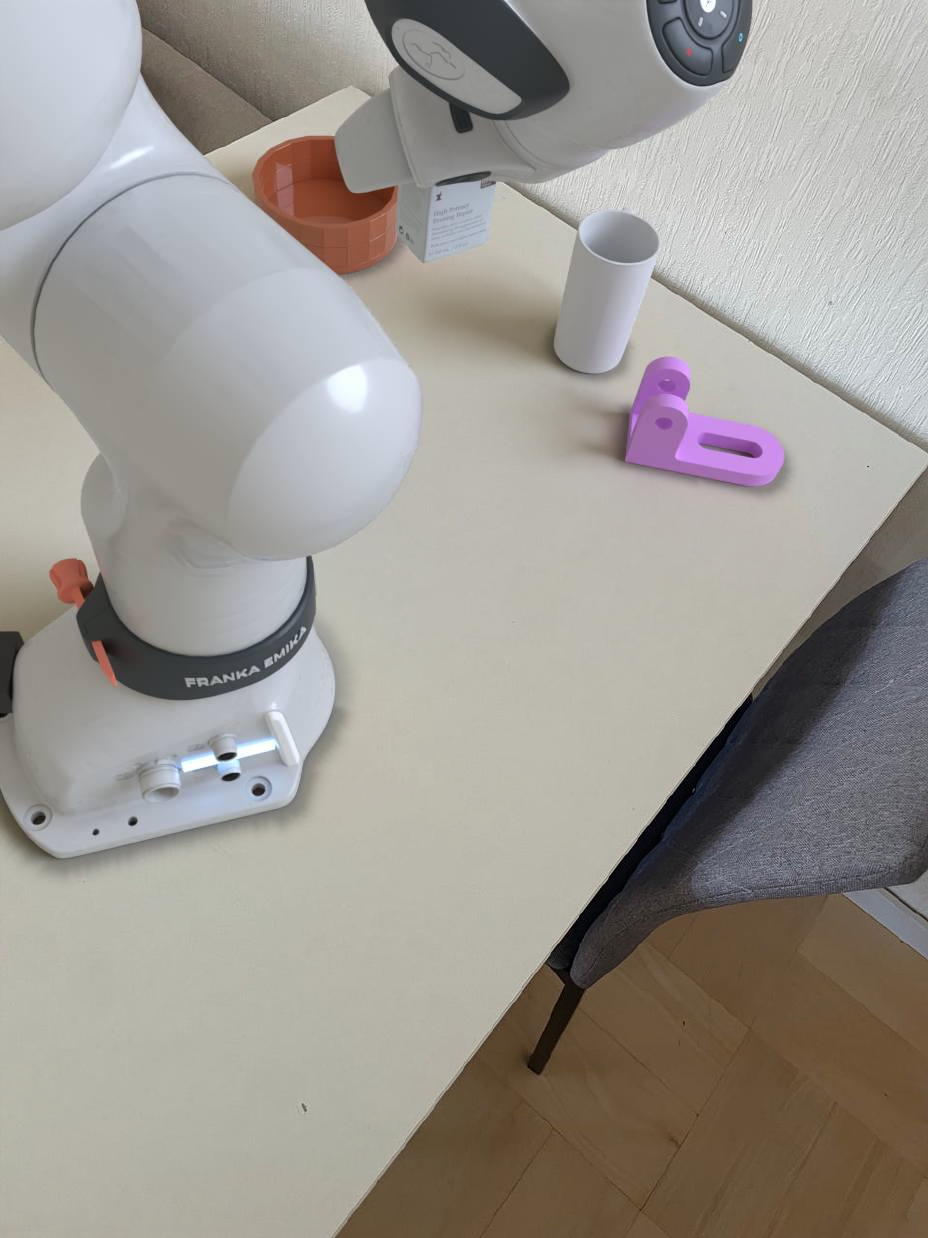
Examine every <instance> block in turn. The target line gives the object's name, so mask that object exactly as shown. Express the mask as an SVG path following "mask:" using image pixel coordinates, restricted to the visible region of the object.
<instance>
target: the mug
mask: <svg viewBox="0 0 928 1238" xmlns="http://www.w3.org/2000/svg"><path fill="white" fill-rule="evenodd" d="M661 248H662V239H661V236H660V234H659V232H658V231H657V229H656V227H654V225H653V224H652V223H650V222H649V221H648V220H647V219H646V218H644V217H642V216H640V215H638V214H636V213H635V210H634V209H633V208H631V207H629V206H626V207H623V208H622V209H617V208H616V209H615V208H610V209H609V208H606V209H600V210H595V211H593V212H590V213H588V214H587V215H586V216H584V217H583V218H582V220H580V222H579V224H578V227H577V232H576V235H575V239H574V244H573V247H572V252H571V257H570V262H569V265H568V266H569V267H568V270H567V275H566V276H567V277H566V280H565V285H564V291H563V295H562V298H561V299H562V300H561V304H560V309H559V314H558V317H557V322H556V326H555V333H554V337H553V338H554V339H553V349H554V352H555V354H556V356H557V358H559V360H560V361H561V362H562V363H563V364H564V365H565V366H566V367H569V368H570V369H572V370H575V371H577V372H581V373H584V374H590V375H591V374H595V375H596V374H597V375H598V374H603V373H606V372H609V371H611V370H613V369H614V368H616V367H617V366H618V364H619V363H620V362H621V360H622V358H623V355H624V353H625V350H626V348H627V345H628V343H629V339H630V337H631V334H632V331H633V329H634V325H635V322H636V319H637V317H638V313H639V311H640V308H641V305H642V303H643V300H644V297H645V294H646V292H647V289H648V286H649V283H650V281H651V278H652V274H653V272H654V269H655V266H656V263H657V260H658V256H659V254H660V251H661Z"/></svg>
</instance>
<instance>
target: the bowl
mask: <svg viewBox="0 0 928 1238" xmlns="http://www.w3.org/2000/svg"><path fill="white" fill-rule="evenodd" d="M334 138H335V135H305V136H300V137H295V138H291V139H286V140H285V141H282V142H281V143H278V144H276V145H274V146H271V147H270V148H269V149H268V150H266V151H265V152H264V153H263V154H262V155H261V156H260V157H259V158H258V159H257V161H256V164H255V167H254V168H253V171H252V173H251V176H252V177H251V178H252V192H253V203H254V204H256V205H257V206H258V207H259V208H260V209H261V210H263V211H264V212H265V213H266V214H267V215H268V216H270V217H271V218H272V219H273V220H274V221H275V222H277V223H278V224H279V225H280V226H281V227H282V228H284V229H285V230H286V231H287V232H288V233H289V234H291V235H292V236H293V237H294V238H295V239H296V240H297V241H299V242H300V243H301V244H302V245H303V246H304V247H306V248H307V249H308V250H309V251H310V252H311V253H313V254H314V255H315V256H316V257H317V258H318V259H320V260H321V261H322V262H323V263H324V264H325V265H327V266H328V267H329V268H330V269H331V270H332V271H334V272H335V273H336V274H337V275H343V274H350V273H355V272H359V271H363V270H365V269H368V268H370V267H372V266H374V265H376V264H377V263H378V264H379V262H381V261H382V260H383V259H385V258H386V257H387V256H388V255H389V254H390V253H391V251H392V250H393V248H394V247H395V245H396V244H397V243H396V242H397V240H398V237H399V236H398V234H397V233H396V231H395V226H396V212H397V196H398V185H397V186H392V187H388V188H383V189H379V190H375V191H370V192H365V193H353V192H351V191H350V190H349V189H348V188H347V186H346V184H345V181H344V178H343V175H342V172H341V169H340V165H339V162H338V158H337V153H336V149H335V141H334Z"/></svg>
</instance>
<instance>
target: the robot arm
mask: <svg viewBox="0 0 928 1238" xmlns="http://www.w3.org/2000/svg"><path fill="white" fill-rule="evenodd" d="M363 1H364V4H365V6H366V9H367V12H368V14H369V16H370V19H371V21H372V23H373V25H374V27H375V29H376V31H377V32H378V35H379V36H380V38H381V39H382V41H383V43H384V44H385V46H386V48H387V49H388V51H389V52H390V54H391V56H392V57H393V59H394V61H395V62H396V63H397V64H398V65H397V66H396V67H394V68H393V69H392V70H391V71H390V72H389V73H388V84H389V87H388V88H386V89H384V90H382V91H380V92H378V93H376V94H375V95H373V96H371V97H370V98H369V99H367V100H366V101H365V102H364V103H363V104H361V105H360V106H359V107H358V108H357V109H356V110H355V111H354V112H353V113H351V115H349V117H347V118H346V120H345V121H344V122H343V123H342V124H341V125H339V127H338V129H337V130H336V131H335V134H334V136H335V138H334V141H335V149H336V153H337V158H338V162H339V165H340V169H341V172H342V175H343V178H344V181H345V184H346V186H347V188H348V189H349V190H350V191H351V192H353V193H365V192H370V191H375V190H379V189H383V188H388V187H392V186H397V185H401V184H407V183H413V182H415V183H416V186H418V187H420V188H427V187H432V186H437V187H439V186H445V185H451V184H457V183H465V182H475V181H496V183H515V182H516V183H520V184H524V185H525V184H527V185H537V184H543V183H547V182H550V181H553V180H555V179H557V178H559V177H562V176H564V175H566V174H568V173H571V172H574V171H576V170H578V169H580V168H584V167H585V166H587V165H590V164H593V163H594V162H596V161H597V160H599V159H601V158H603V157H604V156H605V155H608V153H609V152H610V151H612V150H618V149H619V150H620V149H624V148H628V147H631V146H634V145H636V144H638V143H640V142H643V141H646V140H648V139H650V138H652V137H654V136H656V135H658V134H660V133H663V132H664V131H666V130H668V129H670V128H672V127H674V126H675V125H677V124H679V123H680V122H683V121H684V120H686V119H687V118H689V117H690V116H692V115H694V114H695V113H696V112H698V111H699V110H700V109H702V108H703V107H704V106H706V105H707V104H708V103H709V102H711V100H712V99H714V98H715V97H716V96H717V95H718V94H719V93H720V92H721V91H722V90H723V89H724V88H725V86H726V85H727V84H728V83H729V82H730V80H731V79H732V78H733V76H734V74H735V72H736V71H737V69H738V66H739V65H740V63H741V60H742V58H743V55H744V52H745V49H746V46H747V42H748V38H749V36H750V31H751V27H752V19H753V18H752V17H753V0H363ZM142 31H143V30H142V22H141V15H140V11H139V7H138V2H137V0H0V337H1V338H2V339H3V340H4V341H5V342H6V343H7V344H8V345H9V346H10V347H11V348H12V349H13V350H14V351H15V352H16V353H17V354H18V355H19V357H21V359H22V360H23V361H24V362H25V363H26V364H27V365H28V366H29V367H30V368H31V369H32V370H33V371H34V372H35V373H36V374H37V375H38V376H39V377H40V379H42V380H43V382H45V384H47V385H48V387H50V389H51V390H52V391H53V392H54V393H55V394H56V395H57V396H58V398H60V399H61V400H62V401H63V403H64V404H65V405H66V407H68V409H69V410H70V411H71V412H72V415H73V416H74V417H75V418H76V419H77V421H78V422H79V423H80V425H81V426H82V428H83V429H84V431H85V432H86V433H87V435H88V436H89V438H90V439H91V440H92V442H93V443H94V445H95V446H96V448H97V449H98V450H99V453H98V454H97V456H96V457H95V458H94V460H93V461H92V463H91V464H90V465H89V467H88V469H87V471H86V473H85V475H84V479H83V482H82V486H81V490H80V514H81V518H82V521H83V524H84V527H85V530H86V533H87V536H88V539H89V542H90V545H91V548H92V552H93V554H94V557H95V560H96V563H97V566H98V569H99V571H98V574H97V577H96V580H95V583H92V581H91V580H90V579H89V575H88V569H87V566H86V564H85V562H84V561H83V560H81V559H78V558H77V557H76V558H74V557H70V558H69V557H68V558H64V559H62V560H58V561H57V562H56V563H54V564H53V565H52V566H51V568H50V569H49V571H48V573H49V574H48V576H49V578H50V581H51V583H52V584H53V586H54V587H55V589H56V591H57V592H56V593H57V598H58V600H59V601H60V602H62V603H64V604H67V605H71V604H74V605H73V606H71V607H70V608H69V609H67V610H66V611H65V612H64V613H62V614H61V615H60V616H59V617H57V618H56V619H54V620H53V621H52V622H50V623H49V624H47V626H45V627H44V628H43V629H41V630H40V631H38V632H37V633H36V634H34V635H33V636H32V637H30V638H29V639H27V640H26V642H25V641H24V639H23V637H22V635H21V633H20V631H17V630H16V631H15V630H14V631H12V630H0V714H6V715H5V716H3V717H0V791H1V794H2V796H3V799H4V801H5V803H6V805H7V807H8V809H9V811H10V813H11V815H12V817H13V818H14V820H15V821H16V823H17V824H18V827H20V829H21V830H22V831H23V832H24V834H25V835H26V836H27V837H28V838H29V839H30V840H31V842H33V843H34V844H35V845H36V846H37V847H39V848H40V849H42V850H43V851H44V852H45V853H47V854H49V855H50V856H52V857H54V858H56V859H61V860H63V859H70V858H76V857H80V856H84V855H88V854H93V853H97V852H102V851H107V850H109V849H114V848H119V847H122V846H127V845H131V844H135V843H139V842H143V841H148V840H152V839H156V838H160V837H165V836H169V835H173V834H177V833H181V832H186V831H189V830H193V829H197V828H202V827H203V828H204V827H207V826H211V825H215V824H220V823H224V822H227V821H231V820H236V819H240V818H244V817H248V816H253V815H256V814H260V813H265V812H269V811H273V810H277V809H281V808H283V807H286V806H288V805H290V803H291V802H293V800H294V799H295V798H296V797H295V796H296V795H297V792H298V789H299V786H300V782H301V779H302V778H301V777H302V773H303V767H304V762H305V760H306V758H307V756H308V755H309V753H310V751H311V750H312V748H313V747H314V746H315V744H316V743H317V741H318V740H319V738H320V737H321V735H322V734H323V732H324V731H325V728H326V726H327V724H328V723H329V720H330V717H331V714H332V711H333V708H334V703H335V697H336V676H335V671H334V666H333V662H332V660H331V657H330V654H329V652H328V650H327V648H326V647H325V645H324V643H323V642H322V640H321V638H320V637H319V636H318V634H317V631H316V628H315V624H314V621H315V617H316V613H317V596H318V584H317V575H316V569H315V564H314V560H313V555H317V554H320V553H322V552H325V551H327V550H330V549H333V548H334V547H336V546H339V545H341V544H342V543H345V542H346V541H348V540H350V539H351V538H353V537H354V536H356V535H357V534H359V533H360V532H361V531H362V530H364V529H365V528H367V527H368V526H369V525H370V524H371V523H372V522H373V521H375V520H376V519H377V518H378V517H379V515H380V514H381V513H382V512H383V511H384V510H385V509H386V508H387V507H388V505H389V504H390V503H391V502H392V500H393V499H394V498H395V496H396V495H397V493H398V492H399V490H400V488H401V487H402V485H403V483H404V482H405V480H406V478H407V476H408V474H409V471H410V469H411V466H412V464H413V462H414V459H415V456H416V452H417V449H418V445H419V442H420V436H421V430H422V420H423V392H422V387H421V383H420V381H419V378H418V376H417V374H416V373H415V371H414V370H413V369H412V367H411V366H410V364H409V363H408V361H407V360H406V359H405V357H404V356H403V355H402V353H401V351H400V350H399V349H398V347H397V345H395V343H394V342H393V340H392V339H391V337H390V336H389V335H388V333H387V332H386V330H385V329H384V328H383V327H382V325H381V324H380V323H379V321H378V320H377V319H376V317H375V316H374V315H373V313H372V312H371V311H370V309H369V308H368V307H367V306H366V305H365V303H364V302H363V301H362V300H361V298H360V297H359V295H358V294H357V293H356V292H355V290H354V289H353V287H352V286H351V285H349V283H348V282H346V281H345V280H344V279H343V278H342V277H341V276H340V275H339V274H336V273H335V272H334V271H332V270H331V269H330V268H329V267H328V266H327V265H325V264H324V263H323V262H322V261H321V260H320V259H318V258H317V257H316V256H315V255H314V254H313V253H311V252H310V251H309V250H308V249H307V248H306V247H304V246H303V245H302V244H301V243H300V242H299V241H297V240H296V239H295V238H294V237H293V236H292V235H291V234H289V233H288V232H287V231H286V230H285V229H284V228H282V227H281V226H280V225H279V224H278V223H277V222H275V221H274V220H273V219H272V218H271V217H270V216H268V215H267V214H266V213H265V212H264V211H263V210H261V209H260V208H259V207H258V206H257V205H256V204H254V201H252V200H251V199H250V198H249V197H248V196H247V195H246V194H245V193H244V192H243V191H241V189H239V188H238V187H237V186H236V185H235V184H234V183H233V182H231V181H230V180H229V179H228V178H227V177H226V176H225V175H224V174H222V172H221V171H220V170H218V169H217V167H215V165H213V164H212V162H210V161H209V159H208V158H206V156H205V155H204V154H202V152H201V151H199V150H198V148H197V147H196V146H195V145H194V144H193V143H192V142H191V141H190V140H189V139H188V138H187V137H186V136H185V134H183V133H182V132H181V131H180V129H179V128H178V127H177V126H176V125H175V123H173V121H172V120H171V119H170V118H169V116H168V115H167V113H165V111H164V110H163V108H162V107H161V106H160V104H159V103H158V102H157V100H156V99H155V97H154V95H153V94H152V92H151V90H150V89H149V87H148V86H147V83H146V81H145V79H144V77H143V75H142V73H141V66H142V59H143V32H142ZM259 788H260V789H263V791H264V793H263V794H261V795H255V794H253V792H254V791H255V790H256V789H259ZM40 816H43V817H45V819H44V821H42V822H41V823H39V824H34V822H35V820H36V819H37V818H39V817H40ZM133 823H135V824H134V825H132V824H133Z"/></svg>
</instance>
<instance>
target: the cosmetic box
mask: <svg viewBox="0 0 928 1238" xmlns="http://www.w3.org/2000/svg"><path fill="white" fill-rule="evenodd" d="M496 186H497V182H496V181H475V182H465V183H457V184H451V185H445V186H439V187H437V186H432V187H427V188H420V187H418V186H416V183H415V182H413V183H407V184H401V185H398V196H397V212H396V226H395V231H396V233H397V234H398V236H397V237H399V238H400V240H401V241H402V242H403V244H404V245H405V246H406V247H407V249H409V251H410V252H411V253H412V254H413V256H415V257H416V259H418V261H419V262H421V263H422V264H425V263H430V262H434V261H437V260H441V259H446V258H447V257H451V256H454V255H458V254H460V253H464V252H466V251H470V250H472V249H475V248H478V247H481V246H483V245H485V244H486V243H487V242H488V239H489V234H490V233H489V232H490V225H491V219H492V213H493V212H492V211H493V207H494V201H495V200H494V199H495V194H496Z"/></svg>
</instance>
